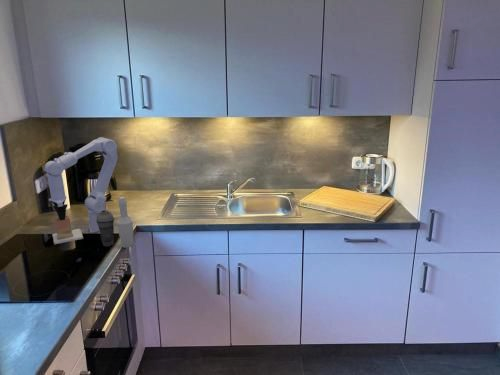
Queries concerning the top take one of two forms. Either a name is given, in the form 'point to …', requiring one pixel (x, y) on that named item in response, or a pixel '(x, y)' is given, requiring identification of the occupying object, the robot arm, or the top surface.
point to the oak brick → (64, 233)
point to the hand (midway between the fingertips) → (61, 217)
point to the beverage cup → (106, 227)
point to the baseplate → (75, 236)
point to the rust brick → (62, 223)
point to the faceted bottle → (125, 225)
